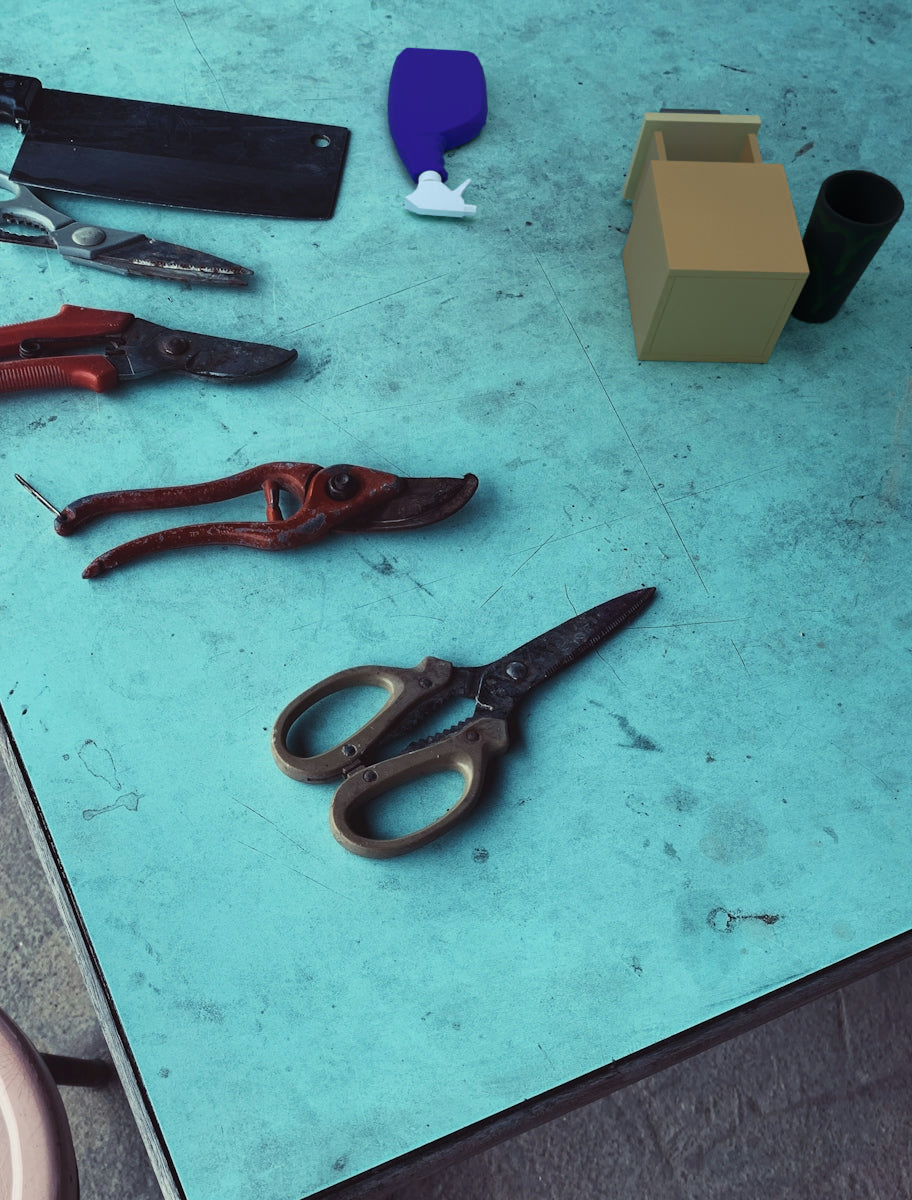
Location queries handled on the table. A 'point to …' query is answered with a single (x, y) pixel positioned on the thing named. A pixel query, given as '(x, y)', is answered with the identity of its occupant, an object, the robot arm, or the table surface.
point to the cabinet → (713, 261)
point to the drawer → (690, 142)
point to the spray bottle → (435, 121)
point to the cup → (844, 239)
